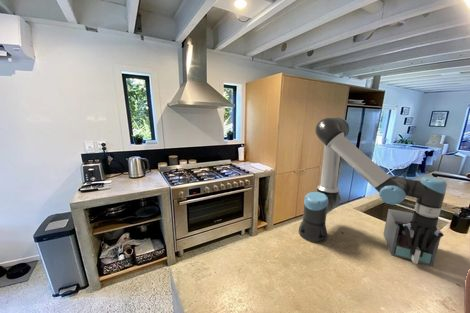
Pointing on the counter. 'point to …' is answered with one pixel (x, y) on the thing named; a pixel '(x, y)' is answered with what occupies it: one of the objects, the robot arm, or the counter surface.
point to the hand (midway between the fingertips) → (414, 261)
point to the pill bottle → (403, 238)
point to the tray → (406, 252)
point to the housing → (396, 226)
